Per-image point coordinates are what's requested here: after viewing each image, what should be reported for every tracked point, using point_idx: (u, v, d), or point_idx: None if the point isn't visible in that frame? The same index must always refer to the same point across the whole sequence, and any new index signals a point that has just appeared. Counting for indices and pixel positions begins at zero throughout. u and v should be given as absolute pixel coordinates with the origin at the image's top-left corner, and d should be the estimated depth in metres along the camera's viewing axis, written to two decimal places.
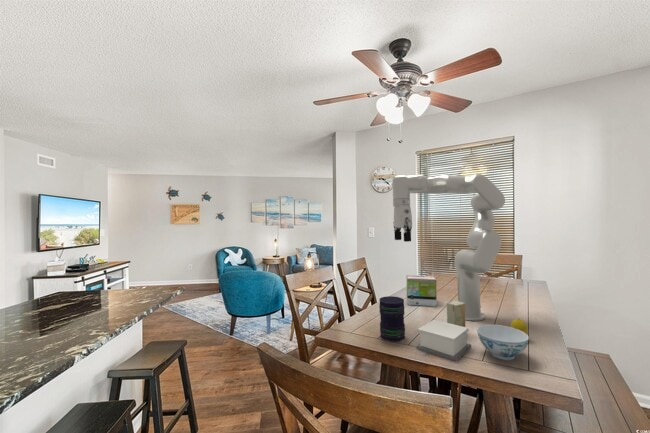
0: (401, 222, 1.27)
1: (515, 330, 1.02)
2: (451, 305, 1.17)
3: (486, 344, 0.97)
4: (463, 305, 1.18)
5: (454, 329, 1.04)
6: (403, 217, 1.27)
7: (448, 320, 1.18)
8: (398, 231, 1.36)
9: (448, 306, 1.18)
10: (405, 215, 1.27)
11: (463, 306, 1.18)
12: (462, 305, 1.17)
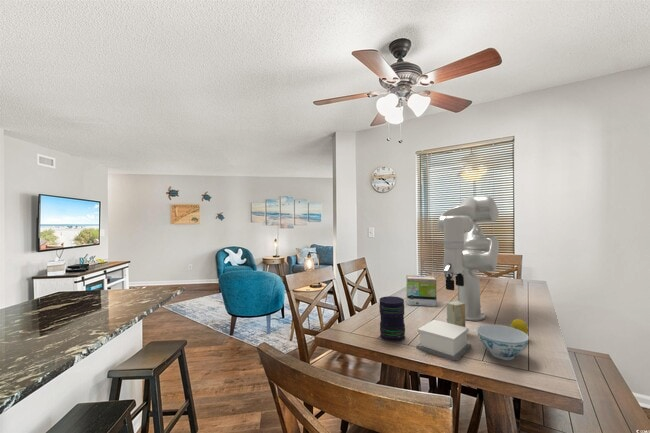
0: (463, 266, 1.20)
1: (515, 330, 1.02)
2: (451, 305, 1.17)
3: (486, 344, 0.97)
4: (463, 305, 1.18)
5: (454, 329, 1.04)
6: None
7: (448, 320, 1.18)
8: None
9: (448, 306, 1.18)
10: None
11: (463, 306, 1.18)
12: (462, 305, 1.17)
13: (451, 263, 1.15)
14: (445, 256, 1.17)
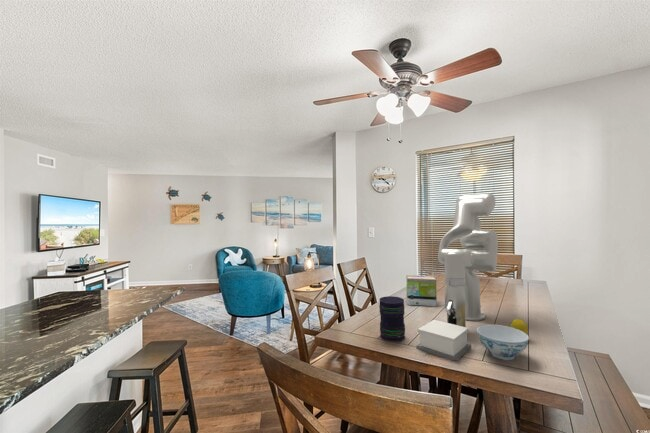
0: (464, 301, 1.20)
1: (515, 330, 1.02)
2: None
3: (486, 344, 0.97)
4: (463, 305, 1.18)
5: (454, 329, 1.04)
6: None
7: None
8: None
9: None
10: None
11: (463, 306, 1.18)
12: (462, 305, 1.17)
13: (452, 300, 1.15)
14: (446, 292, 1.17)
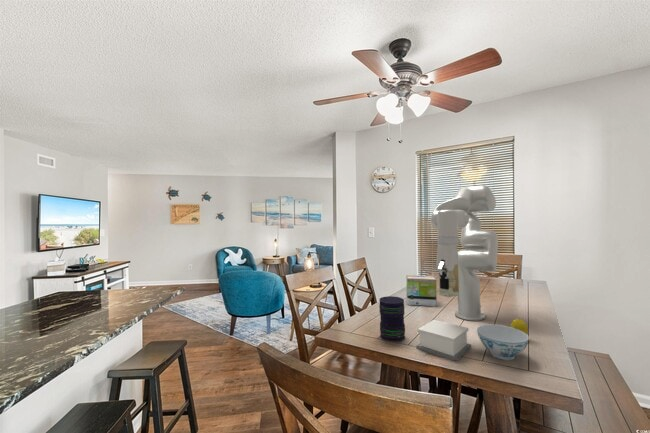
0: (457, 263, 1.13)
1: (515, 330, 1.02)
2: None
3: (486, 344, 0.97)
4: (456, 266, 1.11)
5: (454, 329, 1.04)
6: None
7: None
8: None
9: None
10: None
11: (456, 267, 1.11)
12: (455, 266, 1.11)
13: (444, 259, 1.08)
14: (438, 252, 1.10)
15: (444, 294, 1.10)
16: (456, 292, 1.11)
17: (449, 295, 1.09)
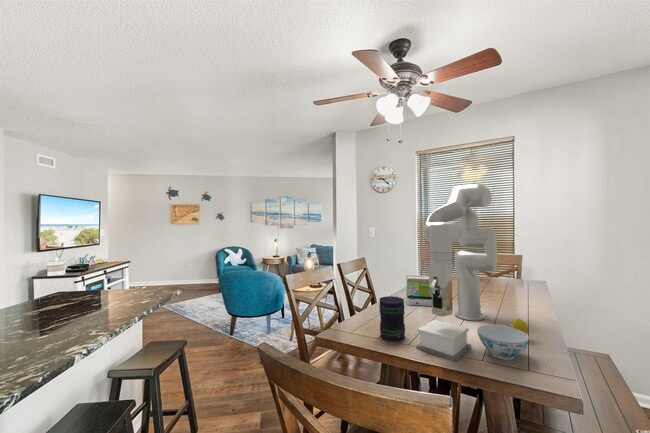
0: (451, 279, 1.07)
1: (515, 330, 1.02)
2: None
3: (486, 344, 0.97)
4: (450, 283, 1.05)
5: (454, 329, 1.04)
6: None
7: None
8: None
9: None
10: None
11: (450, 284, 1.05)
12: (449, 283, 1.04)
13: (437, 277, 1.01)
14: (431, 268, 1.03)
15: (437, 313, 1.03)
16: (450, 310, 1.04)
17: (442, 314, 1.02)
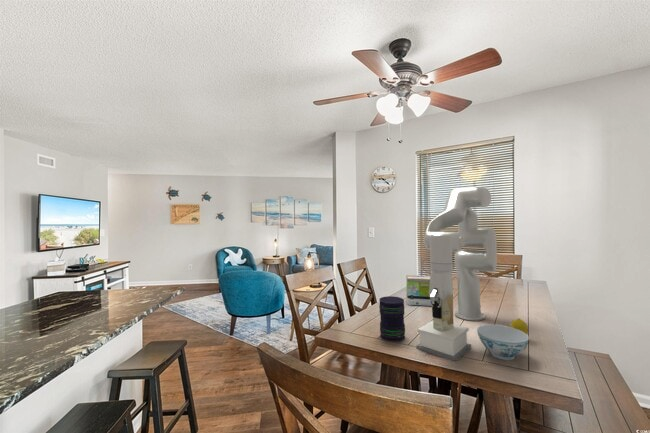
0: (452, 290, 1.07)
1: (515, 330, 1.02)
2: (437, 297, 1.04)
3: (486, 344, 0.97)
4: (451, 297, 1.05)
5: (454, 329, 1.04)
6: None
7: None
8: None
9: None
10: None
11: (451, 298, 1.05)
12: (450, 297, 1.05)
13: (438, 288, 1.01)
14: (431, 279, 1.03)
15: (438, 327, 1.04)
16: (451, 324, 1.05)
17: (443, 329, 1.03)
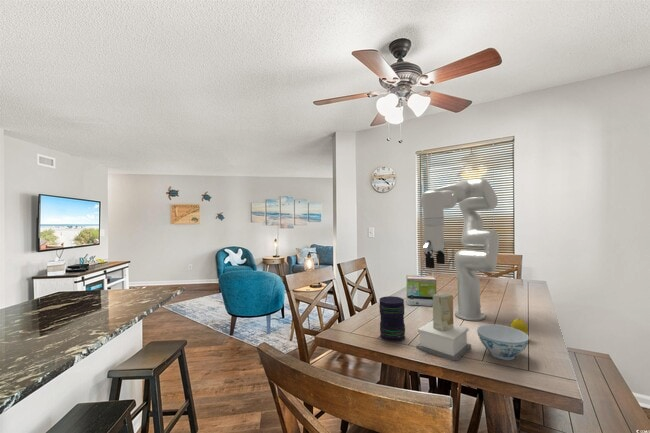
0: (443, 243, 1.15)
1: (515, 330, 1.02)
2: (437, 297, 1.04)
3: (486, 344, 0.97)
4: (451, 297, 1.05)
5: (454, 329, 1.04)
6: None
7: (434, 314, 1.06)
8: None
9: (434, 298, 1.06)
10: None
11: (451, 298, 1.05)
12: (450, 297, 1.05)
13: (430, 240, 1.10)
14: (424, 233, 1.11)
15: (438, 327, 1.04)
16: (451, 324, 1.05)
17: (443, 329, 1.03)
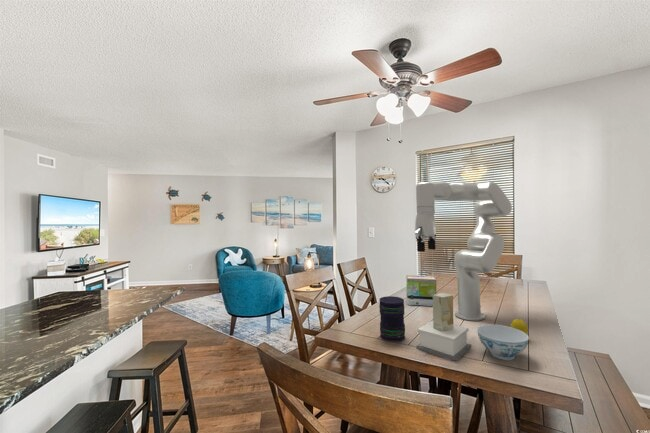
0: (434, 230, 1.27)
1: (515, 330, 1.02)
2: (437, 297, 1.04)
3: (486, 344, 0.97)
4: (451, 297, 1.05)
5: (454, 329, 1.04)
6: None
7: (434, 314, 1.06)
8: None
9: (434, 298, 1.06)
10: None
11: (451, 298, 1.05)
12: (450, 297, 1.05)
13: (422, 226, 1.21)
14: (416, 220, 1.23)
15: (438, 327, 1.04)
16: (451, 324, 1.05)
17: (443, 329, 1.03)
